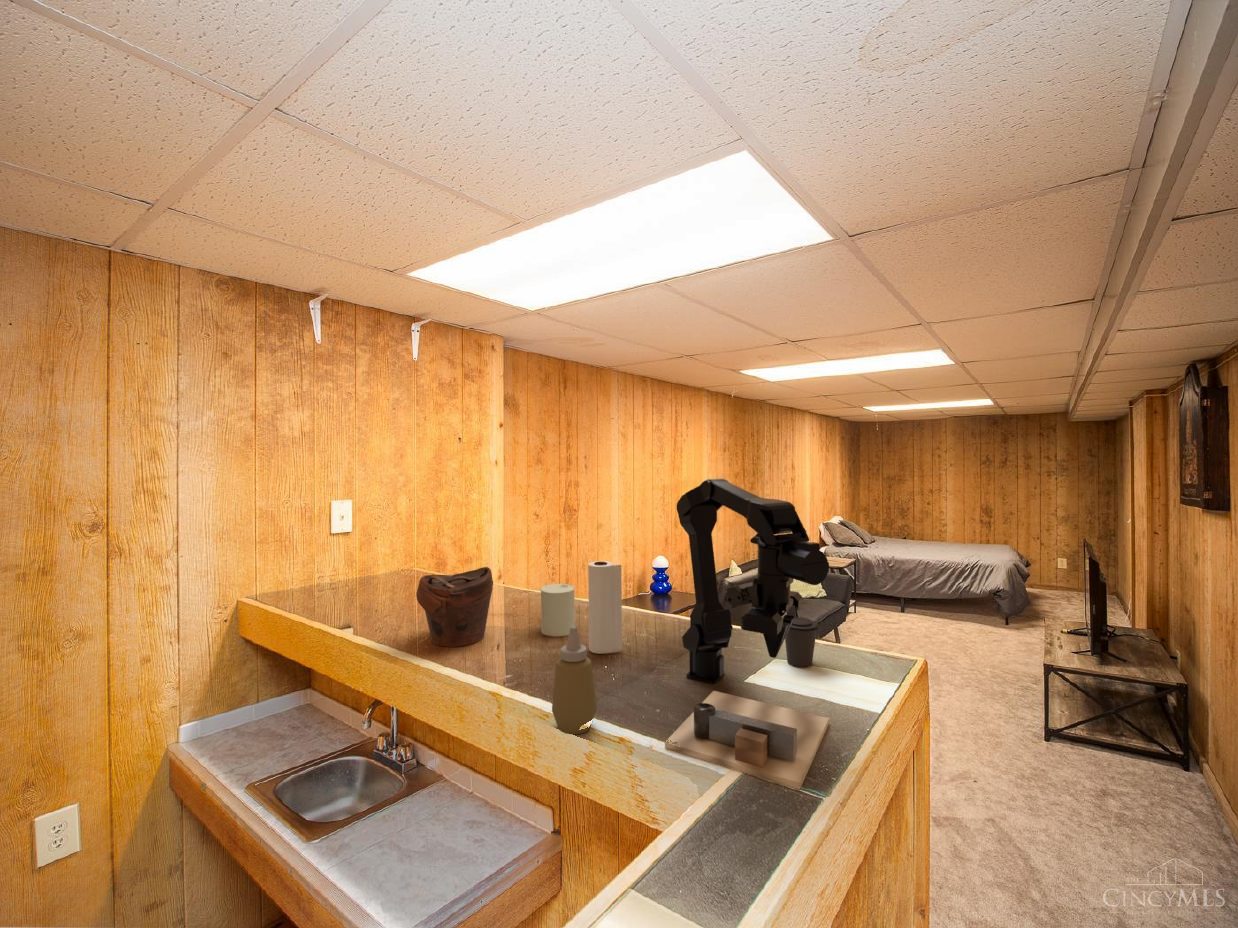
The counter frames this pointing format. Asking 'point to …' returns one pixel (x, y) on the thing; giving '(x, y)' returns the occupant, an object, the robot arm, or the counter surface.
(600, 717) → the counter surface
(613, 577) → the paper towel roll
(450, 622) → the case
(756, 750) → the block
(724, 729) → the swing bar
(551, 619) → the can
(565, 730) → the squeeze bottle
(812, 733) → the tan flat square sheet
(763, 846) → the counter surface
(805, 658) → the coffee cup
